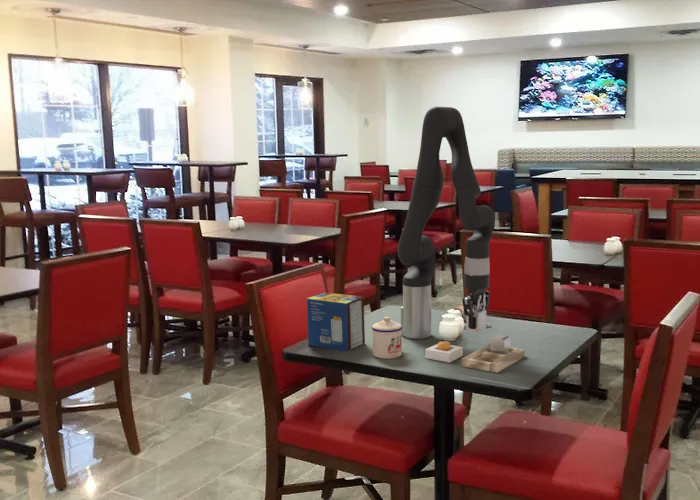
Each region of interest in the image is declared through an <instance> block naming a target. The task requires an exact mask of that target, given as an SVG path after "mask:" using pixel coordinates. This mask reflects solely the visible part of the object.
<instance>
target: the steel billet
mask: <svg viewBox="0 0 700 500" xmlns="http://www.w3.org/2000/svg"><path fill="white" fill-rule="evenodd" d="M467 312H468V310H467ZM473 312H474V309H473ZM486 322H487V310H484V309H478V310H477V313H476V329H469V327H468V325H469V317H468V316H466V328H465V329H466V331H470V332H477V333H481V332H483V331H485V330H486V329H487V327H486Z"/></svg>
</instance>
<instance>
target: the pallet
mask: <svg viewBox="0 0 700 500" xmlns="http://www.w3.org/2000/svg"><path fill="white" fill-rule="evenodd" d="M525 352H526V351H525V349H524V348H518V347H512V346H511V352H510V353H508V354H506V355H505V354H499V353H493V352H490V344H487V345H486V346H484V347H481V348H480V349H478V350H476V351H473V352H472V353H470V354H468V355H466V356H464V357H462V358H461V359H460V360H461V361H460V362H461V367H465V368H471V369H476V370H480V371H485V372H486V371H487V372H491V373H499V372H501V371H503V370H504V369H507V368H508V367H509V366H511V365H513V364H515V363H516V362H518V361H519V360H522V359H523V358H524V357H525V354H526V353H525Z"/></svg>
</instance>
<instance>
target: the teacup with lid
mask: <svg viewBox="0 0 700 500" xmlns="http://www.w3.org/2000/svg"><path fill="white" fill-rule="evenodd" d="M401 329H402V326H401V323H399V322H396V321H394V320H392V319H391V318H390V316H383V320H380V321H378V322H375V323H373V324H372V327H371V330H372V355H373V356H374V357H375V358H378V359H383V360H386V359H388V360H389V359H390V360H391V359H396V358H399V357H401V356H402V353H403V352H402V350H403V349H402V347H403V346H402V335H401Z"/></svg>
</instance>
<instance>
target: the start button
mask: <svg viewBox="0 0 700 500" xmlns="http://www.w3.org/2000/svg"><path fill="white" fill-rule="evenodd" d="M437 342H438V343H437V344H438V350H443V351H448V350H450V345H451V341H446V340H443V341H437Z"/></svg>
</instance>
